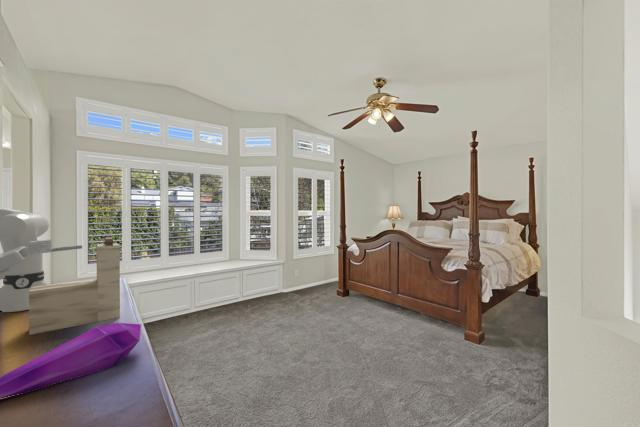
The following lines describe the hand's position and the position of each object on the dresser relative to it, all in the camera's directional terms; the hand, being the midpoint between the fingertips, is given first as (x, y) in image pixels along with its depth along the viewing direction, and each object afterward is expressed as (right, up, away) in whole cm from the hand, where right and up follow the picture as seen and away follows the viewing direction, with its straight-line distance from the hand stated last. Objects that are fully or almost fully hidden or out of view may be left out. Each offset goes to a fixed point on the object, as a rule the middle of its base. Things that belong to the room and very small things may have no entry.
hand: (41, 244), depth 97 cm
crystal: (+34, -29, -25) cm, 51 cm away
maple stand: (+7, -28, +6) cm, 30 cm away
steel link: (+3, -3, +3) cm, 5 cm away
